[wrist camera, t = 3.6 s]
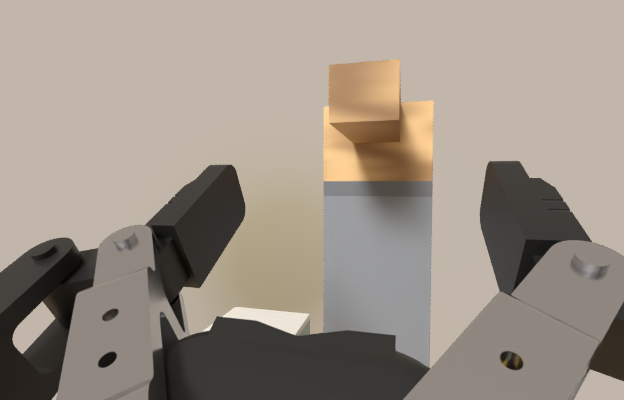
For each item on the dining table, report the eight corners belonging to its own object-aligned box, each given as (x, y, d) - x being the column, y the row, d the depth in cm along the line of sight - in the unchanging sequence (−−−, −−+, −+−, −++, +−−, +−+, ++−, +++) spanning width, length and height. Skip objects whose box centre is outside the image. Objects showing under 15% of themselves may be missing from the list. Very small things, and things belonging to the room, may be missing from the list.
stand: (419, 551, 30) (425, 181, 29) (424, 657, 23) (432, 180, 22) (339, 531, 32) (341, 181, 30) (322, 625, 25) (323, 181, 24)
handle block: (425, 181, 29) (426, 120, 28) (448, 179, 14) (451, 54, 14) (341, 181, 30) (341, 124, 30) (285, 180, 16) (285, 68, 16)
